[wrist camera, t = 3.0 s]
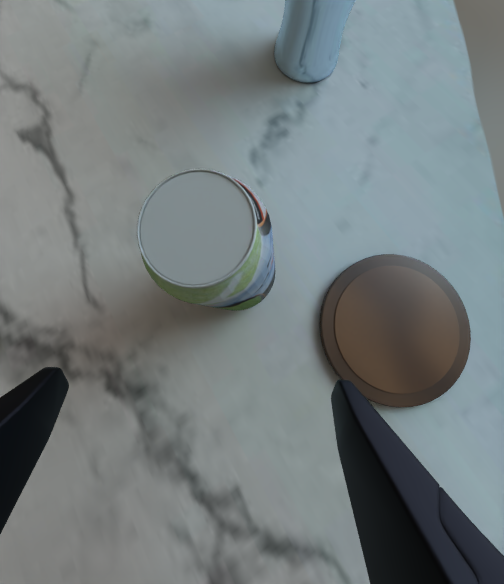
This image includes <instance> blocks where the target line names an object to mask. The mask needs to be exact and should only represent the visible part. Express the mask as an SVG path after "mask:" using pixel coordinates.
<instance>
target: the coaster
mask: <svg viewBox="0 0 504 584" xmlns="http://www.w3.org/2000/svg"><path fill="white" fill-rule="evenodd" d="M320 335H321V340H322V345H323V348H324V351H325V354H326V356H327V358H328V360H329V362H330V364H331V366H332V367H333V369H334V371H335V372H336V373H337V375H338V376H339V377H340V378H341V379H342V380H350V381H351V382H352V383H353V384H354V385H355V386H356V387H357V389H358V390H359V391H360V392H361V393H362V394H363V396H364V397H365V398H367V399H369V400H371V401H374V402H377V403H379V404H383V405H387V406H392V407H413V406H418V405H422V404H425V403H428V402H430V401H432V400H434V399H436V398H438V397H440V396H441V395H442V394H444V393H445V392H446V391H448V390H449V389H450V388H451V387H452V386H453V385H454V383H455V382H456V381H457V379H458V378H459V377H460V375H461V373H462V371H463V369H464V367H465V364H466V362H467V359H468V355H469V350H470V341H471V337H470V325H469V319H468V316H467V313H466V309H465V307H464V305H463V302H462V300H461V299H460V297H459V295H458V293H457V292H456V290H455V289H454V288H453V286H452V285H451V284H450V283H449V282H448V280H447V279H446V278H445V277H444V276H443V275H441V274H440V273H439V272H438V271H437V270H435V269H434V268H432V267H431V266H429V265H427V264H425V263H423V262H421V261H419V260H417V259H414V258H411V257H407V256H403V255H394V254H383V255H377V256H372V257H369V258H365V259H363V260H361V261H359V262H357V263H355V264H353V265H352V266H350V267H349V268H347V269H346V270H345V271H344V272H342V273H341V274H340V275H339V276H338V277H337V278H336V280H335V281H334V282H333V284H332V285H331V286H330V288H329V290H328V292H327V294H326V296H325V298H324V301H323V304H322V309H321V314H320Z"/></svg>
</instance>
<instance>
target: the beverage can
mask: <svg viewBox="0 0 504 584" xmlns="http://www.w3.org/2000/svg"><path fill="white" fill-rule="evenodd" d="M137 239H138V245H139V248H140V251H141V256H142V259H143V262H144V264H145V267H146V269H147V271H148V272H149V274H150V276H151V277H152V279H153V280H154V281H155V282H156V283H157V285H158V286H159V287H160V288H162V289H163V290H164V291H165V292H167V293H168V294H170V295H171V296H173V297H175V298H177V299H179V300H182V301H185V302H188V303H193V304H199V305H204V306H210V307H216V308H221V309H227V310H244V309H248V308H251V307H253V306H255V305H256V304H258V303H260V302H261V301H262V300H263V299H264V298H265V297H266V296H267V294H268V293H269V291H270V290H271V288H272V286H273V282H274V279H275V261H274V249H273V238H272V227H271V222H270V218H269V215H268V213H267V210H266V208H265V206H264V204H263V203H262V201H261V200H260V198H259V197H258V195H257V194H256V193H255V192H254V191H253V190H252V189H251V188H250V187H249V186H247V185H246V184H244V183H243V182H242V181H240V180H238V179H236V178H234V177H231V176H229V175H226V174H223V173H221V172H218V171H214V170H211V169H200V168H198V169H188V170H185V171H181V172H178V173H176V174H174V175H171V176H169V177H168V178H166V179H165V180H163V181H162V182H161V183H159V184H158V185H157V186H156V187H155V188H154V189H153V190H152V192H151V193H150V194H149V195H148V197H147V198H146V200H145V202H144V204H143V206H142V208H141V211H140V214H139V218H138V223H137Z"/></svg>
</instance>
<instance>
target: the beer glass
mask: <svg viewBox="0 0 504 584" xmlns="http://www.w3.org/2000/svg"><path fill="white" fill-rule="evenodd" d="M355 1H356V0H285V8H284V15H283V20H282V24H281V28H280V31H279V34H278V37H277V40H276V44H275V49H274V57H275V61H276V64H277V66H278V67H279V69H280V70H281V71H282V72H283V73H284V74H285V75H286V76H288V77H289V78H291V79H293V80H296V81H299V82H304V83H312V82H317V81H320V80H323V79H325V78H326V77H328V76H329V75H330V74H331V73H332V72H333V70H334V69H335V67H336V64H337V61H338V56H339V50H340V44H341V39H342V34H343V30H344V27H345V24H346V21H347V19H348V16H349V14H350V11H351V9H352V7H353V5H354V3H355Z"/></svg>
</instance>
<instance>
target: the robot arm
mask: <svg viewBox="0 0 504 584" xmlns="http://www.w3.org/2000/svg"><path fill="white" fill-rule="evenodd" d="M68 388H69V384H68V381H67V379H66V377H65V375H64V373H63V371H62V370H61V369H60V368H58V367H46V368H43V369H42V370H40V371H39V372H37V373H36V374H34V375H33V376H31V377H30V378H29V379H27V380H26V381H24V382H23V383H21V384H20V385H18V386H17V387H15V388H14V389H12V390H11V391H9V392H8V393H7V394H5V395H4V396H2V397H1V398H0V534H1V532H2V530H3V528H4V526H5V524H6V522H7V520H8V518H9V516H10V514H11V512H12V510H13V508H14V506H15V504H16V502H17V500H18V498H19V496H20V494H21V492H22V490H23V489H24V487H25V485H26V483H27V481H28V479H29V477H30V475H31V473H32V471H33V469H34V467H35V465H36V463H37V461H38V459H39V457H40V455H41V453H42V451H43V449H44V447H45V445H46V443H47V441H48V439H49V437H50V435H51V432H52V430H53V427H54V425H55V422H56V420H57V417H58V415H59V412H60V409H61V407H62V404H63V402H64V399H65V397H66V394H67V391H68ZM331 402H332V409H333V417H334V425H335V432H336V440H337V446H338V451H339V456H340V460H341V464H342V468H343V472H344V476H345V481H346V485H347V489H348V493H349V497H350V501H351V505H352V509H353V514H354V518H355V522H356V526H357V530H358V534H359V538H360V543H361V547H362V551H363V555H364V559H365V563H366V567H367V572H368V576H369V580H370V584H504V556H503V555H502V554H501V553H500V552H499V551H498V550H497V549H496V547H495V546H494V545H493V544H492V543H491V542H490V541H489V540H488V539H487V538H486V537H485V536H484V535H483V534H482V533H481V532H480V530H479V529H478V528H477V527H476V526H475V525H474V524H473V523H472V522H471V521H470V520H469V518H468V517H467V516H466V515H465V514H464V513H463V512H462V510H461V509H460V508H459V507H458V506H457V505H456V504H455V503H454V501H453V500H452V499H451V498H450V497H449V496H448V494H447V493H446V492H445V491H444V490H443V488H441V487H440V488H439V484H438V483H437V482H436V480H435V479H434V478H433V477H432V476H431V474H430V473H429V472H428V471H427V470H426V469H425V467H424V466H423V465H422V464H421V463H420V462H419V460H418V459H417V458H416V457H415V456H414V454H413V453H412V452H411V451H410V450H409V449H408V447H407V446H406V445H405V444H404V443H403V442H402V440H401V439H400V438H399V437H398V436H397V434H396V433H395V432H394V431H393V430H392V429H391V427H390V426H389V425H388V424H387V423H386V422H385V420H384V419H383V418H382V417H381V416H380V414H379V413H378V412H377V411H376V410H375V409H374V407H373V406H372V405H371V404H370V403H369V402H368V400H367V399H366V398H365V397H364V396H363V394H362V393H361V392H360V391H359V390H358V389H357V387H356V386H355V385H354V384H353V383H352V382H351V381H350V380H337V382H336V384H335V387H334V389H333V392H332V395H331Z"/></svg>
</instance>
